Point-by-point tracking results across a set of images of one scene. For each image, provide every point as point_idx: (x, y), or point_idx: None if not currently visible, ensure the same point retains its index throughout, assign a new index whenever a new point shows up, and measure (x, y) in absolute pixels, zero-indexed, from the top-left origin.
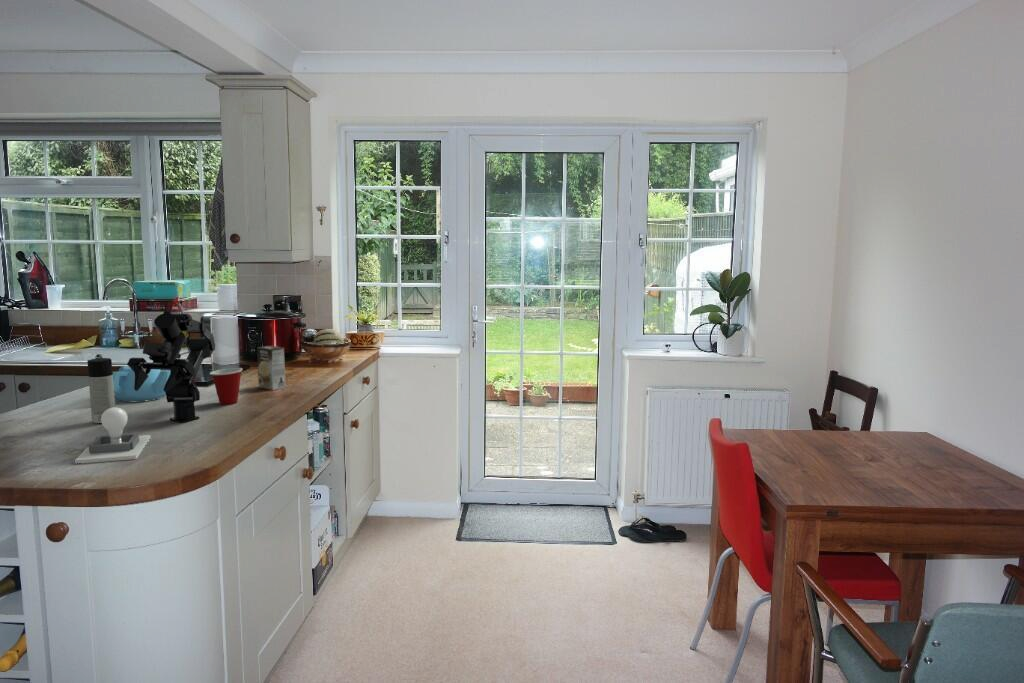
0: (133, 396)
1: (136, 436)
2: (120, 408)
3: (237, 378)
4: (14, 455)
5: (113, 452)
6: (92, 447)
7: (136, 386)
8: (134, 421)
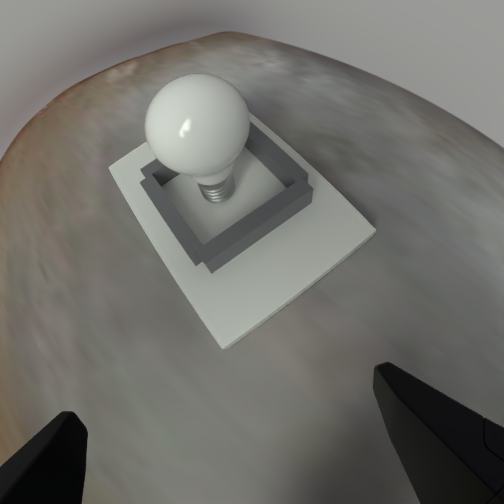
0: None
1: (173, 231)
2: (163, 107)
3: None
4: (422, 104)
5: None
6: None
7: (387, 384)
8: None
